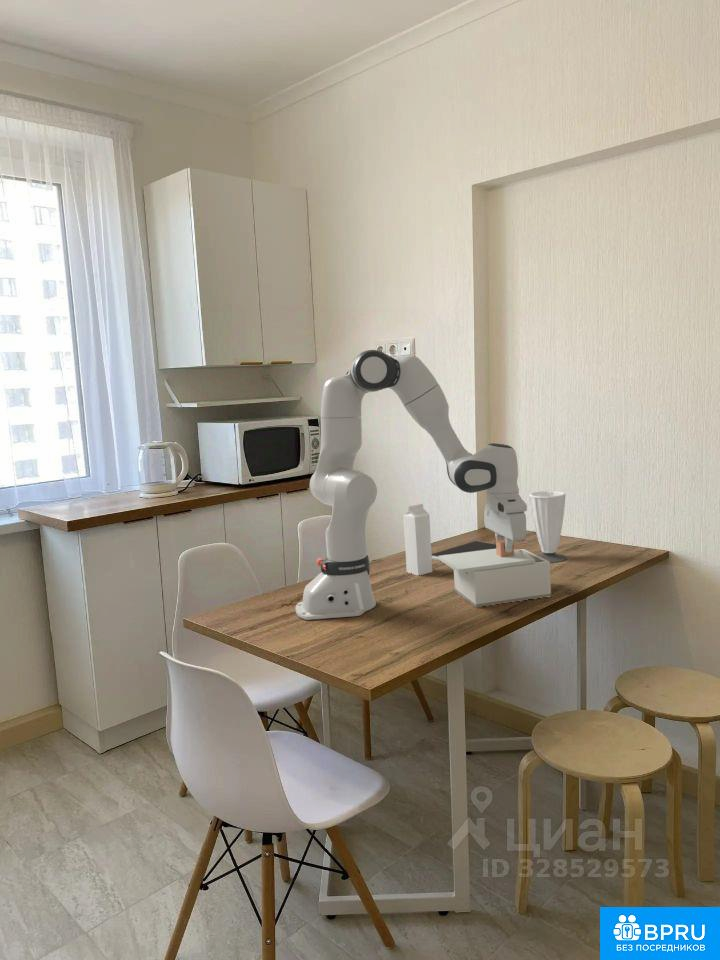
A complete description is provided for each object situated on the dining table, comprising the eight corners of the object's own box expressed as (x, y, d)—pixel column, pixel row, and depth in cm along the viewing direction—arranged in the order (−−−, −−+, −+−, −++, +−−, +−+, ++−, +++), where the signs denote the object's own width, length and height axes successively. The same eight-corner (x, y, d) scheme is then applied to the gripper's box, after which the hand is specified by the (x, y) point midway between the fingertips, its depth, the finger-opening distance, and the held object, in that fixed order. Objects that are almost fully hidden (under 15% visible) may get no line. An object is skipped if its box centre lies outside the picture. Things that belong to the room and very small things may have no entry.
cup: (532, 553, 242) (529, 491, 239) (567, 553, 239) (565, 490, 236) (530, 562, 231) (528, 497, 228) (567, 562, 228) (565, 496, 225)
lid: (458, 573, 189) (457, 554, 188) (438, 559, 204) (437, 542, 203) (535, 562, 193) (534, 545, 193) (509, 550, 209) (509, 533, 208)
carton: (475, 608, 191) (473, 571, 190) (454, 591, 207) (452, 558, 205) (551, 596, 196) (549, 561, 194) (524, 581, 211) (523, 548, 210)
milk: (406, 572, 230) (401, 505, 227) (421, 568, 233) (416, 502, 230) (418, 576, 225) (413, 507, 222) (433, 572, 228) (428, 504, 225)
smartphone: (505, 549, 253) (505, 544, 253) (455, 565, 235) (455, 560, 235) (476, 544, 263) (475, 540, 263) (425, 560, 245) (425, 555, 245)
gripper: (477, 497, 207) (479, 543, 209) (507, 508, 187) (509, 559, 189) (498, 495, 209) (499, 541, 210) (529, 506, 189) (531, 556, 191)
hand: (504, 550), depth 200 cm, fingers closed on lid, 3 cm apart
